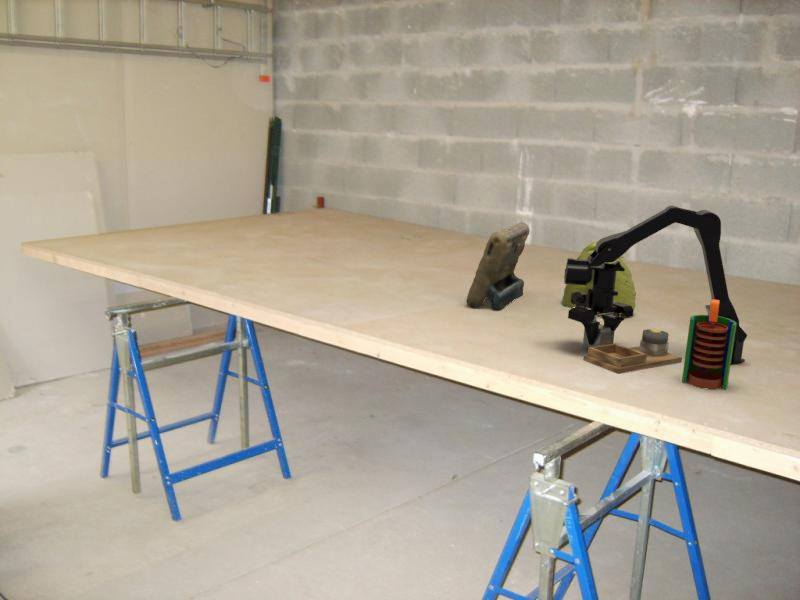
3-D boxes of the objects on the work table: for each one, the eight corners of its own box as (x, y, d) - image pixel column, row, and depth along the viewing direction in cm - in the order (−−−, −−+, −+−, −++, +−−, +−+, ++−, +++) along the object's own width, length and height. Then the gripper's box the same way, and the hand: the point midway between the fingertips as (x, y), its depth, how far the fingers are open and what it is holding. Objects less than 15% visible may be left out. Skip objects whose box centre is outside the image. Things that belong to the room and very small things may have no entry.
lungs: (644, 316, 258) (653, 241, 252) (608, 321, 250) (616, 243, 244) (588, 299, 278) (595, 229, 273) (554, 303, 271) (560, 231, 265)
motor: (685, 387, 191) (695, 304, 187) (678, 375, 200) (688, 295, 195) (730, 391, 190) (742, 307, 185) (721, 379, 198) (733, 299, 194)
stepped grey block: (612, 349, 217) (614, 328, 215) (599, 351, 214) (601, 330, 213) (596, 343, 222) (598, 322, 220) (582, 345, 219) (584, 324, 218)
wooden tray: (681, 361, 211) (683, 345, 210) (618, 373, 199) (620, 356, 198) (645, 349, 221) (647, 333, 220) (583, 359, 209) (584, 343, 208)
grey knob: (671, 354, 212) (674, 332, 211) (654, 357, 209) (657, 334, 208) (652, 347, 218) (654, 326, 216) (635, 350, 214) (637, 328, 213)
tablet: (486, 288, 288) (491, 218, 283) (525, 293, 284) (531, 221, 278) (464, 308, 258) (469, 229, 252) (507, 313, 254) (513, 233, 248)
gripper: (606, 277, 226) (601, 332, 229) (556, 283, 216) (551, 339, 219) (637, 286, 216) (631, 342, 220) (586, 291, 207) (580, 350, 210)
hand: (598, 343), depth 218 cm, fingers closed on stepped grey block, 5 cm apart
